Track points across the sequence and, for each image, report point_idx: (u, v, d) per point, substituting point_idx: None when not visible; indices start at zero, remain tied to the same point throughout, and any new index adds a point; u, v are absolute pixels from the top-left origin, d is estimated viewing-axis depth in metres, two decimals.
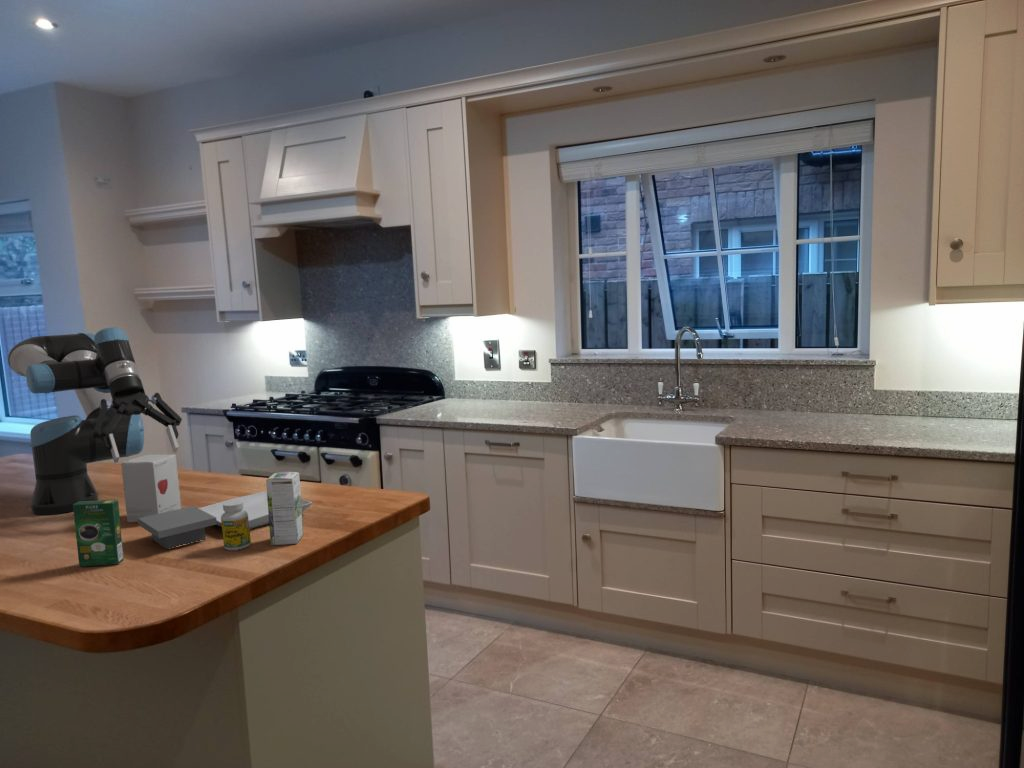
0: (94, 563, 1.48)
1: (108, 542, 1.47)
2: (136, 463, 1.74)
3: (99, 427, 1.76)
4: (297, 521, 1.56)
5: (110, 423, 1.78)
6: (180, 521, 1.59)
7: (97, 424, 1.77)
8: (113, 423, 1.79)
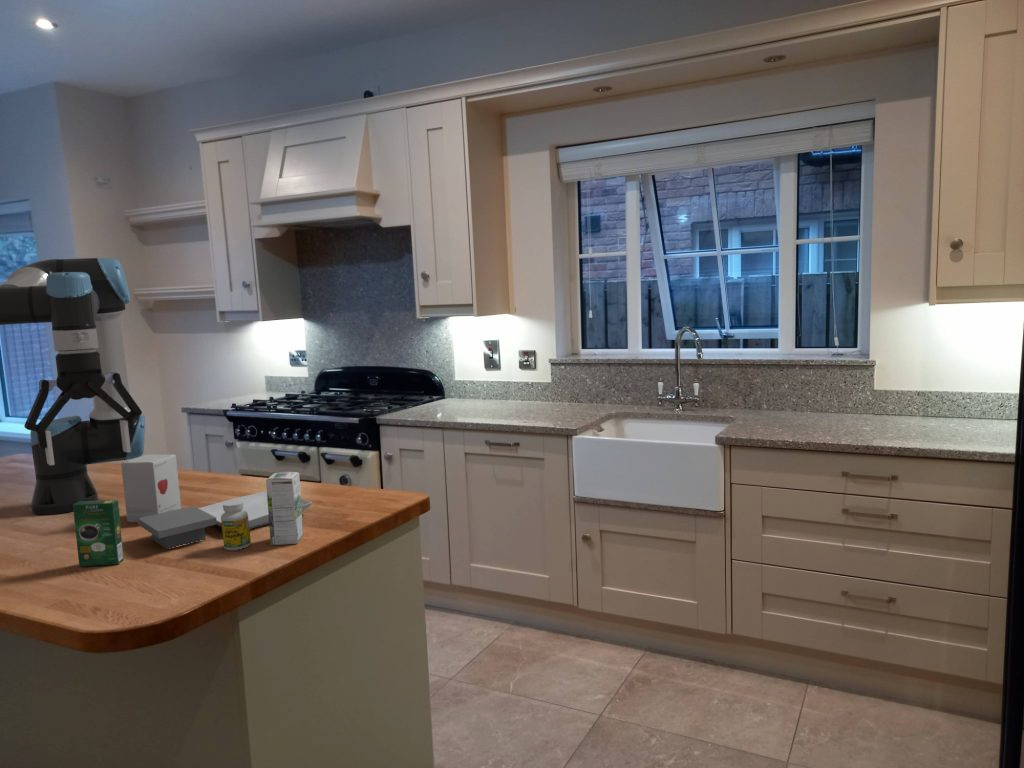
0: (94, 563, 1.48)
1: (108, 542, 1.47)
2: (136, 463, 1.74)
3: (34, 421, 1.39)
4: (297, 521, 1.56)
5: (49, 416, 1.41)
6: (180, 521, 1.59)
7: (32, 417, 1.39)
8: (53, 416, 1.41)
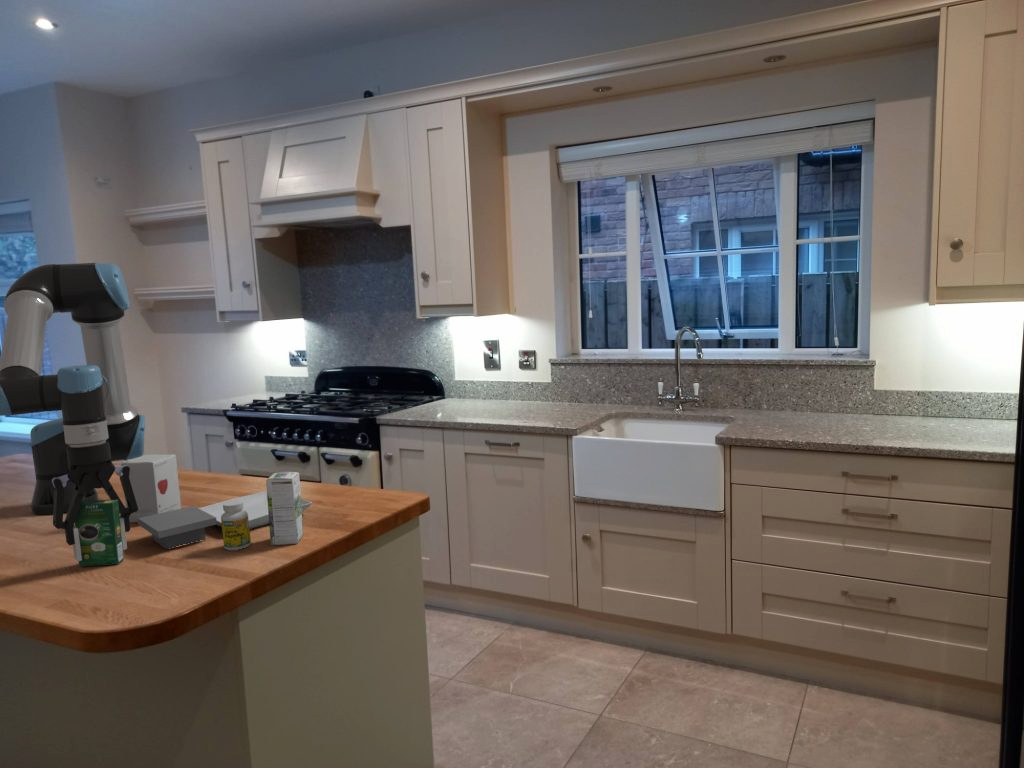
0: (94, 563, 1.48)
1: (109, 542, 1.47)
2: (136, 463, 1.74)
3: (61, 519, 1.43)
4: (297, 521, 1.56)
5: (72, 513, 1.44)
6: (180, 521, 1.59)
7: (57, 516, 1.42)
8: (76, 512, 1.44)
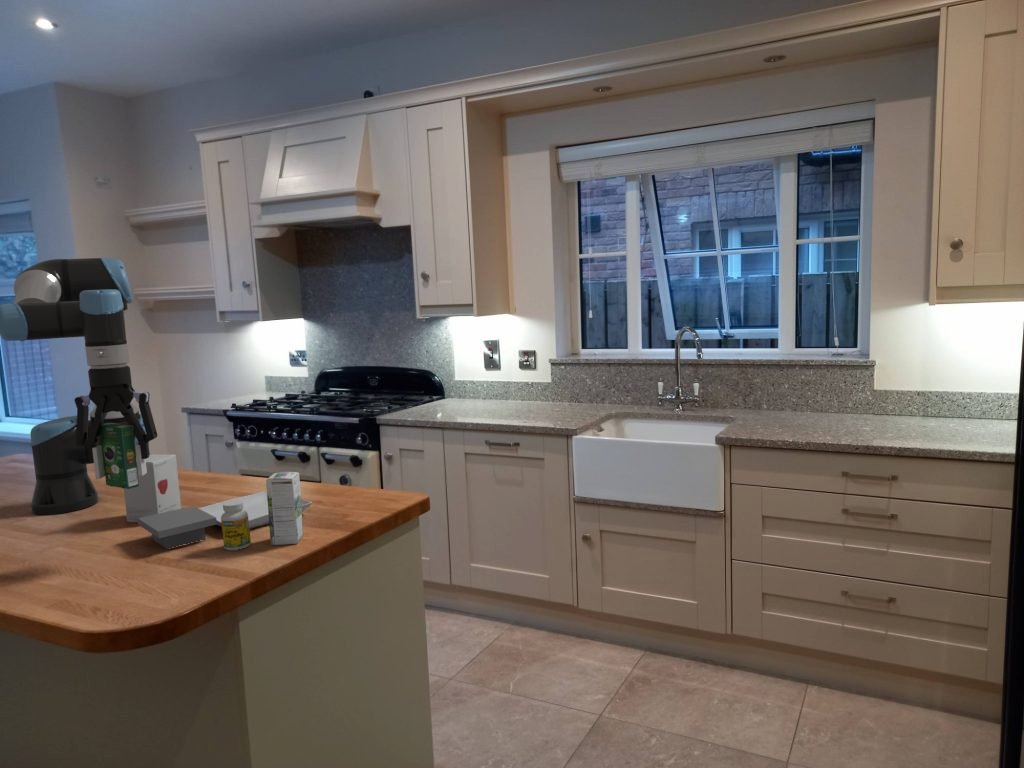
0: (114, 484, 1.51)
1: (120, 466, 1.49)
2: None
3: (81, 437, 1.49)
4: (297, 521, 1.56)
5: (91, 432, 1.49)
6: (180, 521, 1.59)
7: (78, 433, 1.48)
8: (95, 431, 1.49)
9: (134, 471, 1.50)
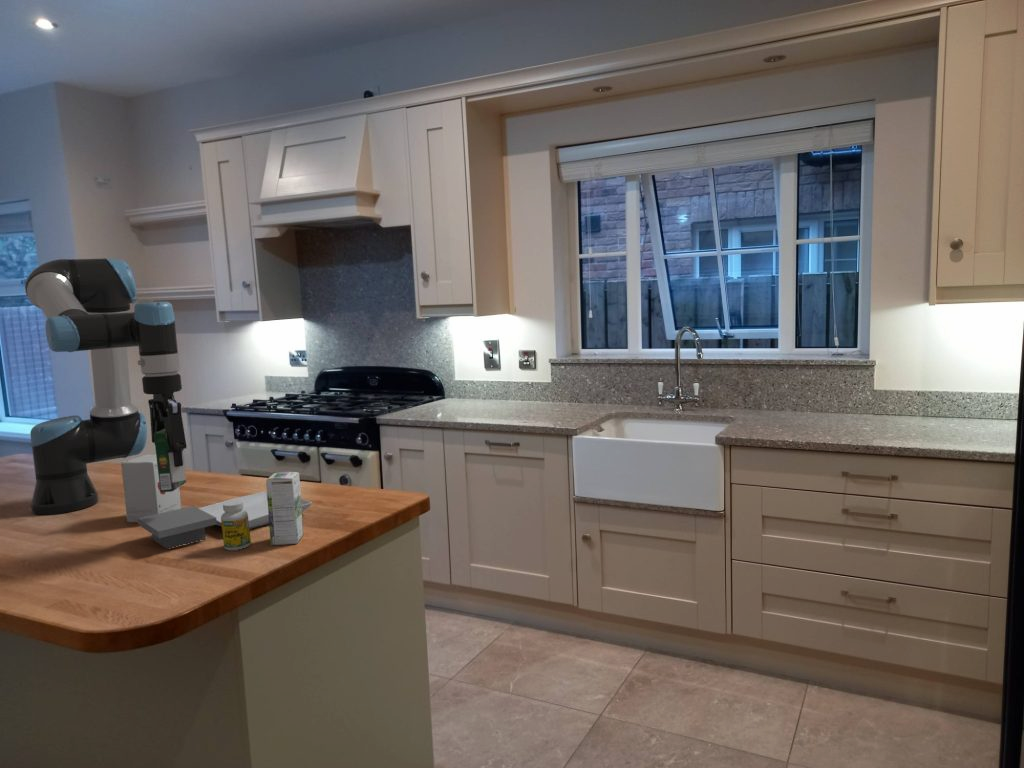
0: None
1: None
2: (136, 463, 1.74)
3: (152, 435, 1.63)
4: (297, 521, 1.56)
5: (155, 432, 1.61)
6: (180, 521, 1.59)
7: (151, 431, 1.63)
8: None
9: (167, 476, 1.56)
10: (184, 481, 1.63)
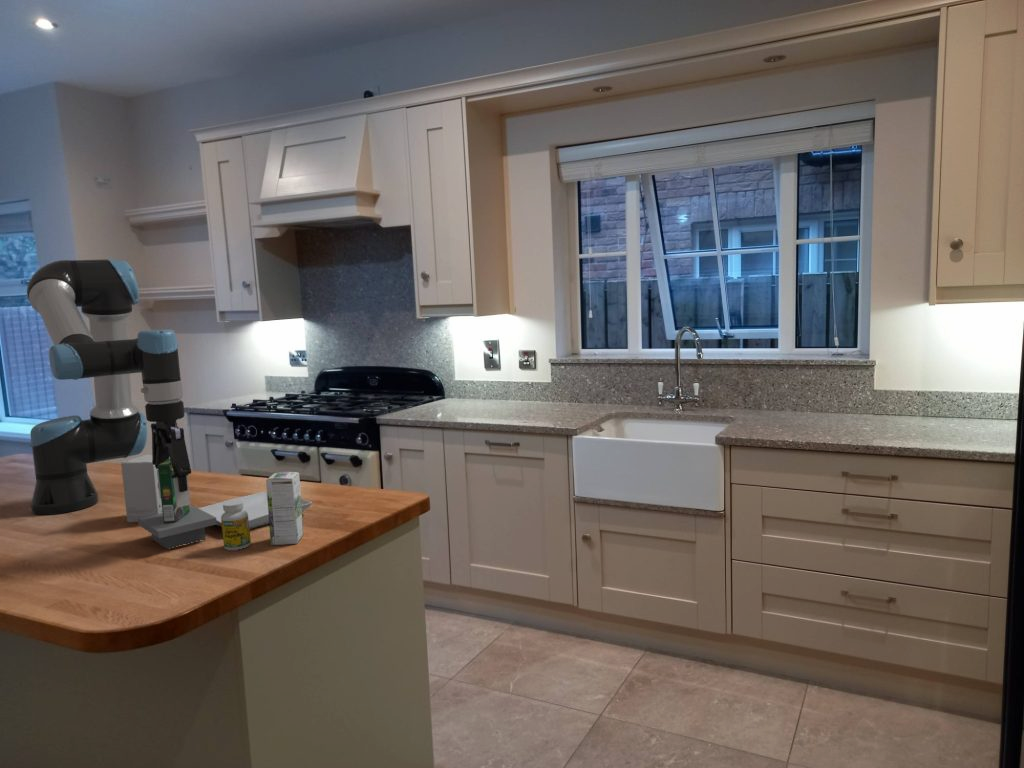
0: None
1: None
2: (136, 463, 1.74)
3: (153, 458, 1.65)
4: (297, 521, 1.56)
5: (156, 456, 1.63)
6: (180, 521, 1.59)
7: (152, 454, 1.65)
8: (157, 456, 1.62)
9: (170, 508, 1.57)
10: (188, 511, 1.64)
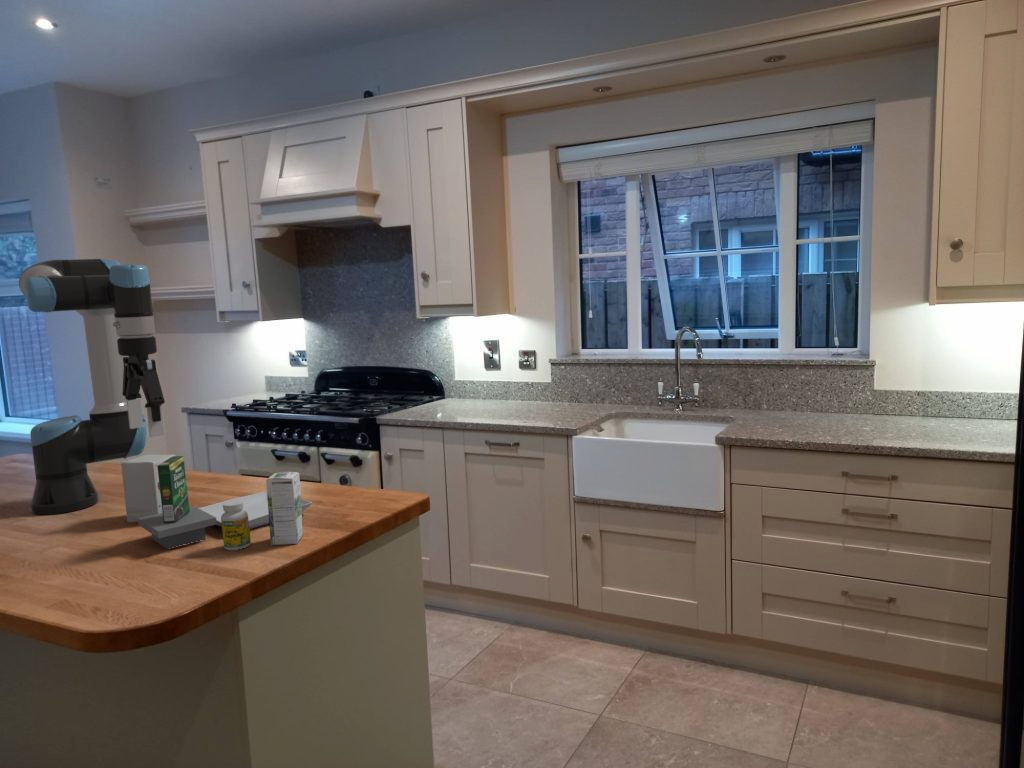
0: None
1: None
2: (136, 463, 1.74)
3: (123, 390, 1.67)
4: (297, 521, 1.56)
5: (127, 388, 1.65)
6: (180, 521, 1.59)
7: (123, 386, 1.67)
8: (128, 389, 1.65)
9: (170, 508, 1.57)
10: (187, 511, 1.64)
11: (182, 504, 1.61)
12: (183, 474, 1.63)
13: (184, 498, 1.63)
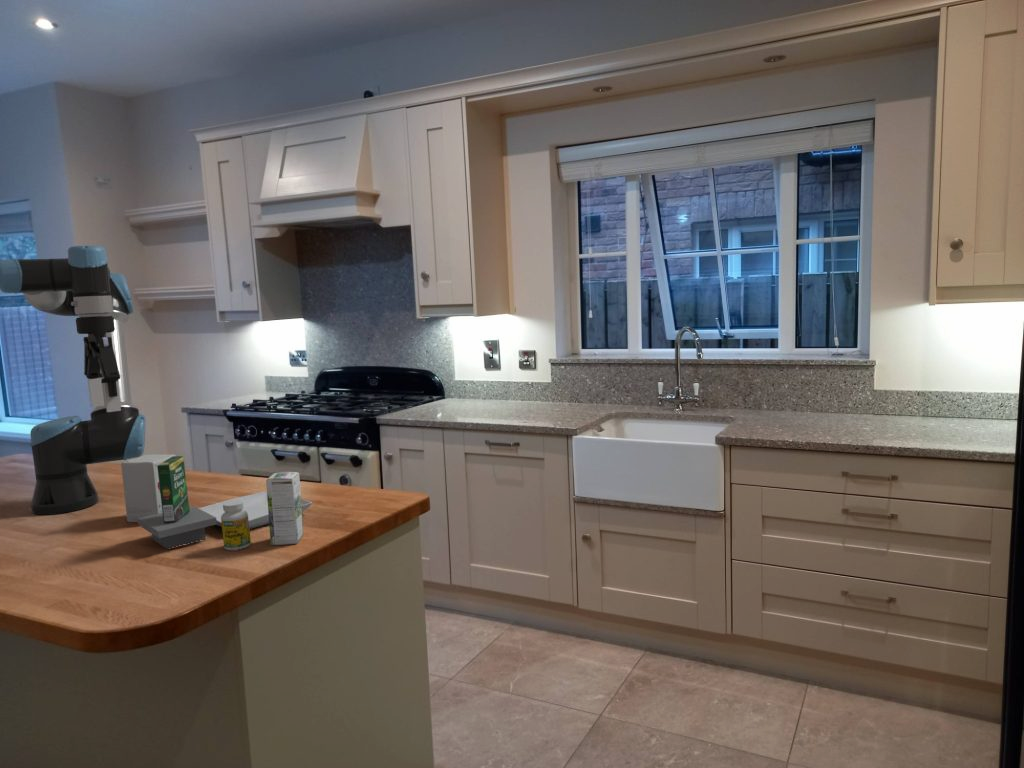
0: None
1: None
2: (136, 463, 1.74)
3: (85, 369, 1.72)
4: (297, 521, 1.56)
5: (87, 367, 1.70)
6: (180, 521, 1.59)
7: (84, 365, 1.72)
8: (88, 368, 1.70)
9: (170, 508, 1.57)
10: (187, 511, 1.64)
11: (182, 504, 1.61)
12: (183, 474, 1.63)
13: (184, 498, 1.63)
